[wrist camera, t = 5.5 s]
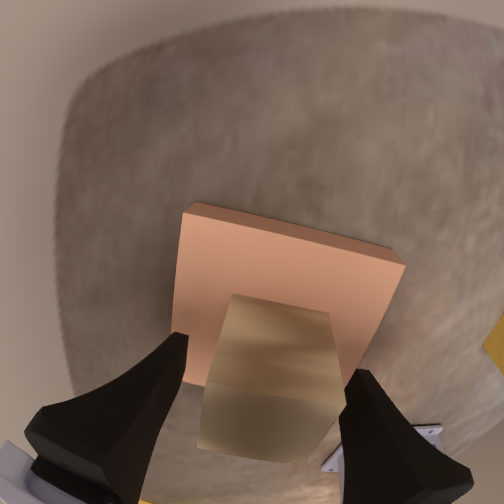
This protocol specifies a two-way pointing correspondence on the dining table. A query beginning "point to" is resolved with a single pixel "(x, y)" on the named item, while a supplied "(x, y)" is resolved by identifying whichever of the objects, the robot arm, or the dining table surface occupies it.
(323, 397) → the beech block
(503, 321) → the mustard block
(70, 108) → the dining table surface
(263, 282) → the riser
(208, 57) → the dining table surface
